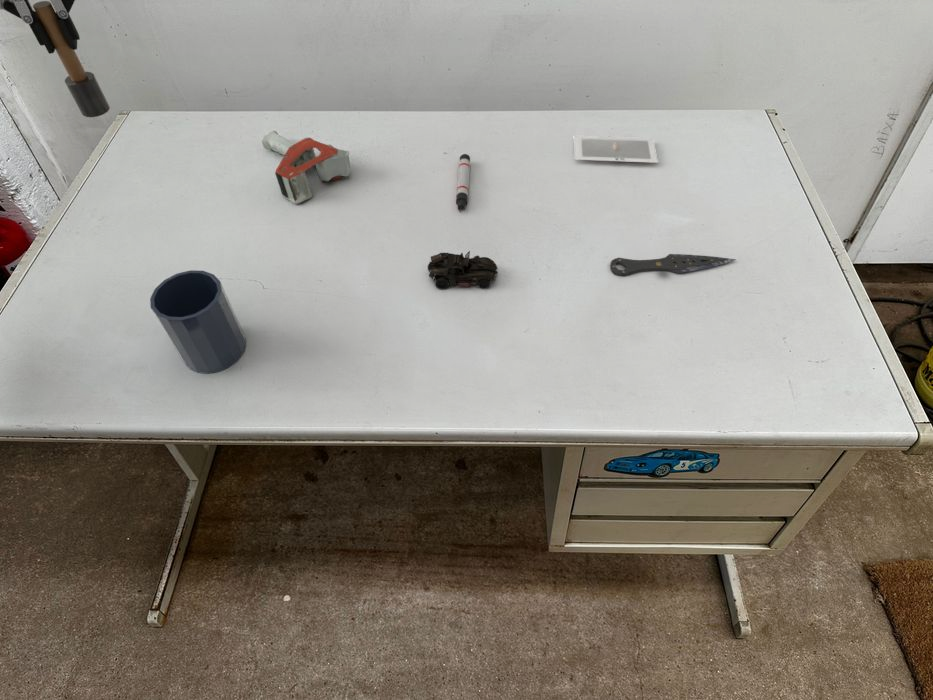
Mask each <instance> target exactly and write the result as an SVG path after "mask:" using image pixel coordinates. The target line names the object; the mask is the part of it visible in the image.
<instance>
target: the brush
mask: <svg viewBox="0 0 933 700" xmlns="http://www.w3.org/2000/svg"><path fill="white" fill-rule="evenodd" d="M32 8H33V10H34V11H35V12H36V14H37V16H38V17H39V19H40V21H41V23H42V25H43V27H44V29H45V31H46V33H47V35H48V36H49V38H50V40H51V42H52V44H53V46H54V48H55V52H56V54H57V55H58V57H59V59H60V62H61V64H62V65H63V67H64V69H65V71H66V73H67V75H68V76H67V77H65V79H64V83H65V85H66V87H67V89H68V91H69V92H70V95H71V96H72V98H73V100H74V102H75V104H76V106H77V108H78V109H79V111H80V113H81V115H82V116H83V117H85V118H97V117H100V116H103V115H105V114H107V113H108V112H109V111H110V109H111V107H110V104H109V102H108V101H107V99H106V96H105V94H104V92H103V90H102V88H101V86H100V84H99V82H98V80H97V78H96V75H95V74H94V73H93V72H91V71H86V70H85V69H84V66H83V65H82V62H81V60H80V59H79V57H78V54H77V53H76V50H72V49H70V47H69V45H68V43H67V41H66V39H65V37H64V35H63V33H62V31H61V29H60V27H59V25H58V23H57V15H56V10H55V8H54V6H53V5H52V3H51V1H50V0H42V1H37V2H35V3H34V4H33V5H32Z"/></svg>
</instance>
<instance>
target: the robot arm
mask: <svg viewBox="0 0 933 700" xmlns="http://www.w3.org/2000/svg"><path fill="white" fill-rule="evenodd" d="M75 1H76V0H49V2H50V3H51V4H52V6H53V8H54V10H55V12H56V15H57V23H58V25H59V27H60V29H61V31H62V33H63V35H64V37H65V39H66V41H67V43H68V45H69V47H70V49H72V50H75V51H76V50H78V41H79V40H80V38H81V37H80V34H79V32H78V30H77V27H76V26H75V23H74V22H73V19H72V17H71V15H70V13H71V12H70V11H71V9H72V8H73V6H74V3H75ZM0 10H4V11H6V12H8V13H9V14H11V15H13V16H15V17H16V18H19V19H21V20H22V22H23V23H25V24H27V25H28V26H29V27H30V29H31V31H32V34H33V36H34V37H35V39H36V40H37V42H38V44H39V45H40V46H44V47H45V49H46V51H47V53H48V54H54V53H55V52H56V50H55V48H54V46H53V44H52V42H51V40H50V38H49V36H48V35H47V33H46V31H45V29H44V27H43V25H42V23H41V21H40V19H39V17H38V16H37V14H36V12H35V10H34V8H33V5H32V4H31V2H30V0H0Z"/></svg>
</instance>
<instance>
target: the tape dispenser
mask: <svg viewBox="0 0 933 700" xmlns="http://www.w3.org/2000/svg"><path fill="white" fill-rule="evenodd" d="M261 144H262V147H263V149H265V150H271V151H273V152H275V153H279V154H280V155H282V156H283V157H282V158H281V161H280V163H279V164H278V165H277V167H276V169H275V173H274V174H275V176H276V180H277V183H278V186H279V189H280V192H281V194H282V196H283V197H284V198H285V199H286V200H288V201H290V202H291V203H293V204H294V205H299V204H301V203H303V202H304V201H307V200H309V199H311V198H312V196H313V195H312V192H311V188H310V186H309V185H310V184H309V182H308V179H307V175H306V173H305V172H306V171H307V170H308V169H310V168H312V167H313V166H315V170H316V173H317V175H318V177H319V179H320V180H322V181H325V182H329V181H330V180H333V181H337V180H340V178H341V176H343V177H348V176H349V175H350V173H351V161H350V151H349V150H344V149H339V148H337V147H335V146H333V145H332V144H326V143H323V142H320V141H317V140H315V139H313V138H312V137H304V138H303V139H300V140H299V141H297V142H294V141H291V140H290V139H288V138H287V137H284V136H283V135H280V134H279V133H278V131H277V130H271V131H269V132H268V133H267V134H265V135H264V136H263V137H262V139H261ZM314 149H316V150H317V151H319V154H318V155H317V156H316V154H315V150H314Z"/></svg>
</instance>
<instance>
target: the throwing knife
mask: <svg viewBox="0 0 933 700" xmlns="http://www.w3.org/2000/svg"><path fill="white" fill-rule="evenodd" d="M734 261H737V259H736V258H728V257H720V256H711V255H701V254H685V253H684V254H683V253H669V254H667V255H666V256H664V257H661V258H652V259H632V258H631V259H630V258H624V257H616V258H613V259H612V260H611V261H610V265H609V269H610V271H611V272H612V274H614V275H615V276H619V277H625V276H628V275H631V274H635V273H640V272H647V271H648V272H649V271H668V272H673V273H676V274H682V273H688V272H693V271H698V270H699V271H700V270H704V269H707V268H712V267H716V266H721V265H724V264H727V263H730V262H734ZM619 264H620V265H622V266H624V267H625V268H624V269H619V268H618V267H617V266H616V265H619Z"/></svg>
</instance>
